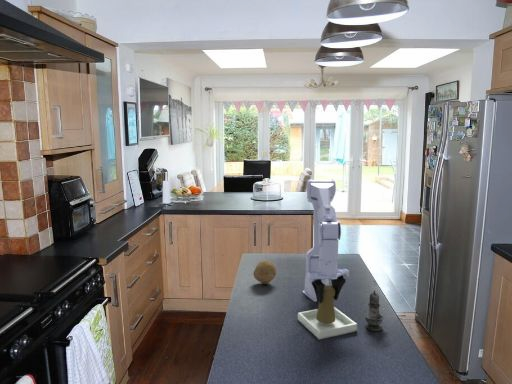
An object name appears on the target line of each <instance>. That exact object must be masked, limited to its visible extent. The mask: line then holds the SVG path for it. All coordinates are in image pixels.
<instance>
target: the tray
mask: <svg viewBox="0 0 512 384" xmlns="http://www.w3.org/2000/svg"><path fill="white" fill-rule="evenodd" d="M334 311H335V321H334V322H333V323H322V322H319V321H318V320H317V319H316V318H317V312H318V308H315V309H310V310H305V311H301V312H297V320H298V322H300V324H302V325H303V326H304V327H305V328H306V329H307V330H308V331H309V332H310V333H311V334H312V335H314V337H316V338H317V340H323V339H328V338H332V337H337V336H341V335H346V334H350V333H355V332H357V331H358V323H357V322H355V321H354V320H352V319H351V318H350V317H349V316H347V315H346V314H345V313H343V312H342V311H341V310H339V309H338V308H337V307H335V306H334Z"/></svg>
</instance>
